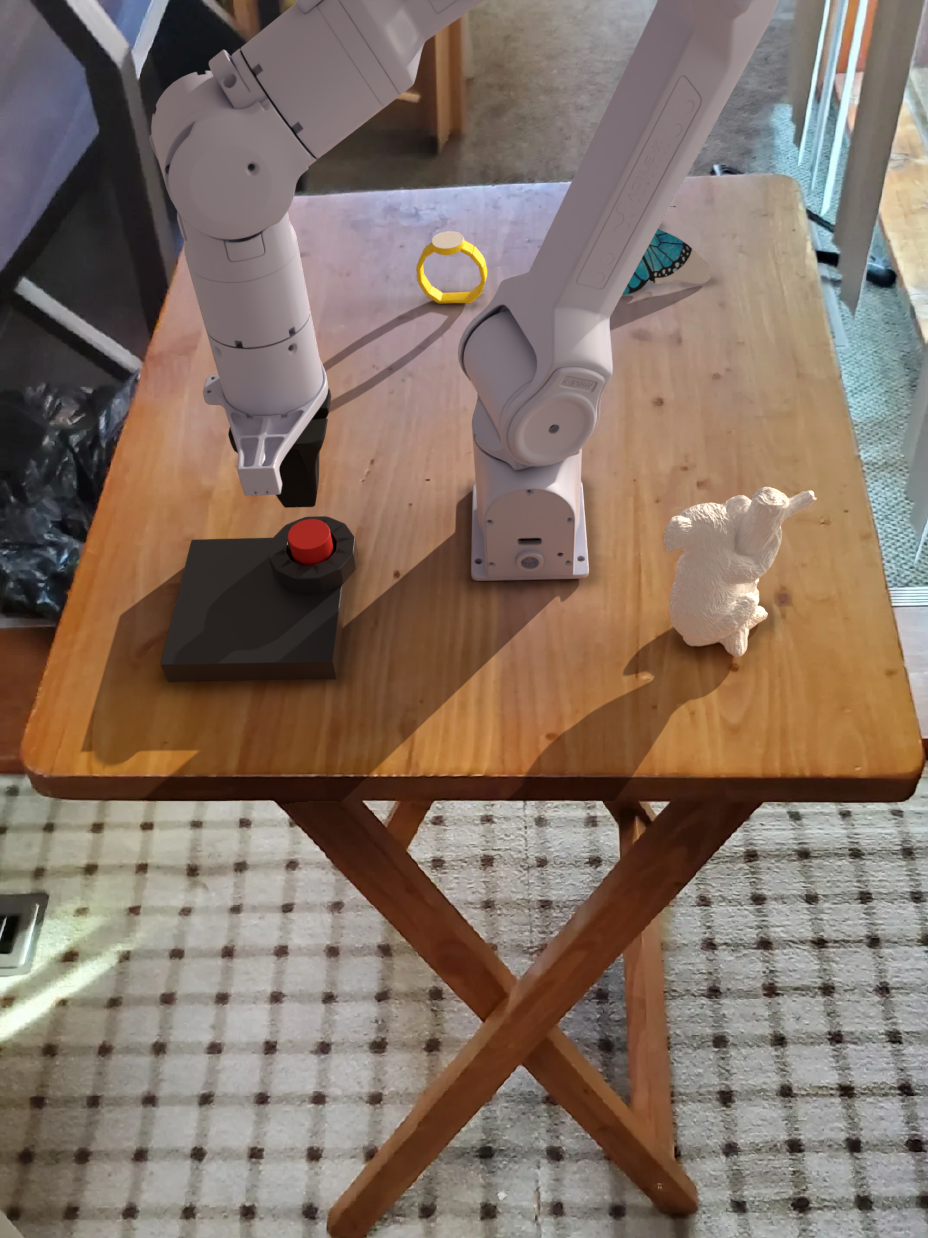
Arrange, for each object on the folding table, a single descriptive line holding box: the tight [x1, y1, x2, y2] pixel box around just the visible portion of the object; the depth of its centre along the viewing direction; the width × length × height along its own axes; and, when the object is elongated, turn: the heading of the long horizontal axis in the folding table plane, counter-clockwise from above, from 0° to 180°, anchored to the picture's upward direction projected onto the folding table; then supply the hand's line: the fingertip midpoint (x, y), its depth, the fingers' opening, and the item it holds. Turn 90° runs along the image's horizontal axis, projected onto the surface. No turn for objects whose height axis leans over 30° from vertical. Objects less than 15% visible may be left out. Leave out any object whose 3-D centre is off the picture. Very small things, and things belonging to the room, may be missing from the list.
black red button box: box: [160, 515, 359, 683], centre depth 71 cm, size 11×12×4 cm
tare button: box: [288, 519, 333, 565], centre depth 71 cm, size 3×3×2 cm
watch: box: [415, 230, 488, 305], centre depth 93 cm, size 6×3×6 cm, turn 81°
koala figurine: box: [663, 486, 817, 658], centre depth 65 cm, size 8×7×12 cm
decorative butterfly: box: [622, 205, 712, 296], centre depth 95 cm, size 10×6×10 cm
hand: (300, 499), depth 68 cm, fingers closed
